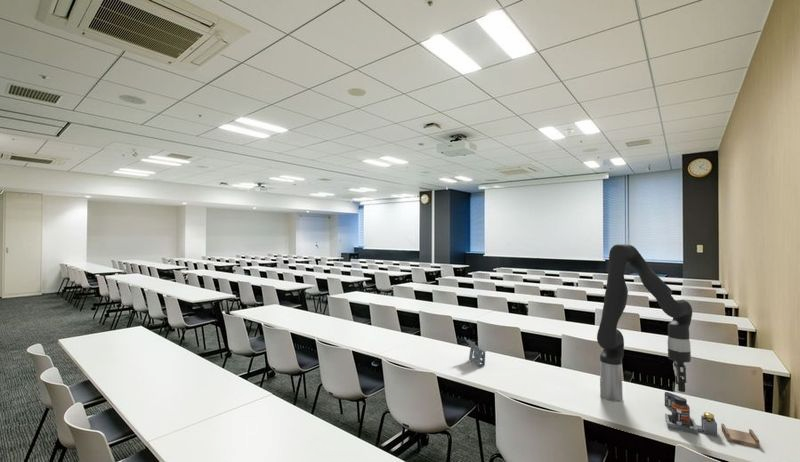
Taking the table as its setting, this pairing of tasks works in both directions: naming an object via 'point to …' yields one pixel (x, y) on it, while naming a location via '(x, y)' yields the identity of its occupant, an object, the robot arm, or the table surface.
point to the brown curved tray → (740, 436)
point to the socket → (695, 426)
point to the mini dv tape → (669, 399)
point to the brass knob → (708, 416)
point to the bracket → (476, 354)
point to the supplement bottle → (680, 412)
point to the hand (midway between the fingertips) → (680, 387)
